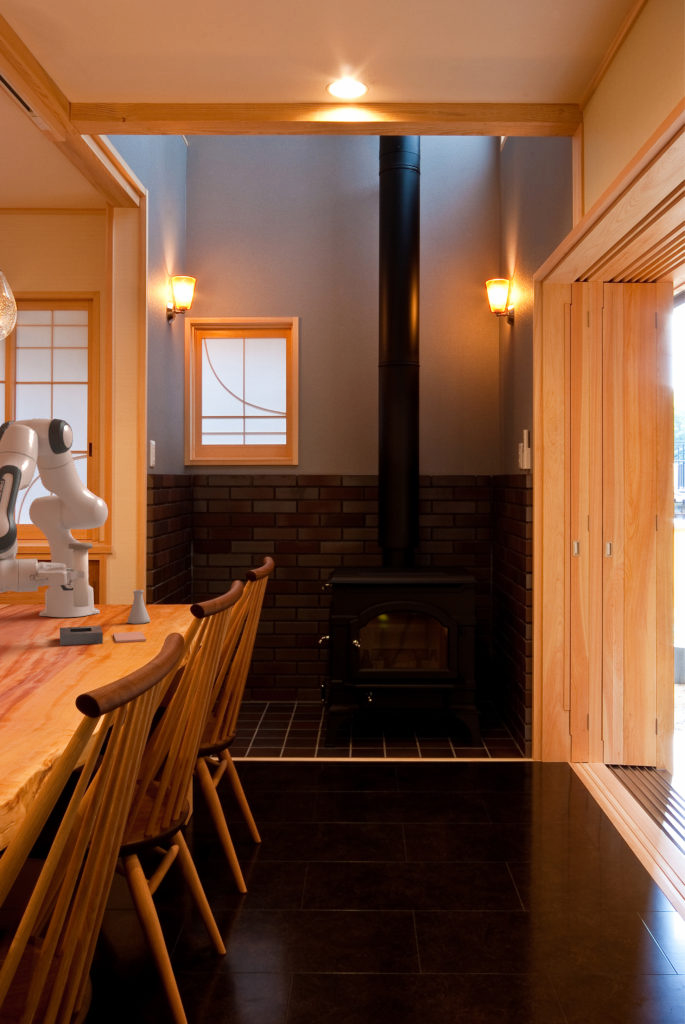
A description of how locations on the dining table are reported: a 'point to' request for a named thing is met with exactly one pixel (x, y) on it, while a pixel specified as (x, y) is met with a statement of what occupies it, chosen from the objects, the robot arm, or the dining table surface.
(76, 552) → the peg
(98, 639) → the eye block
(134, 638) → the pad
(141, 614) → the flask
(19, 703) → the dining table surface
